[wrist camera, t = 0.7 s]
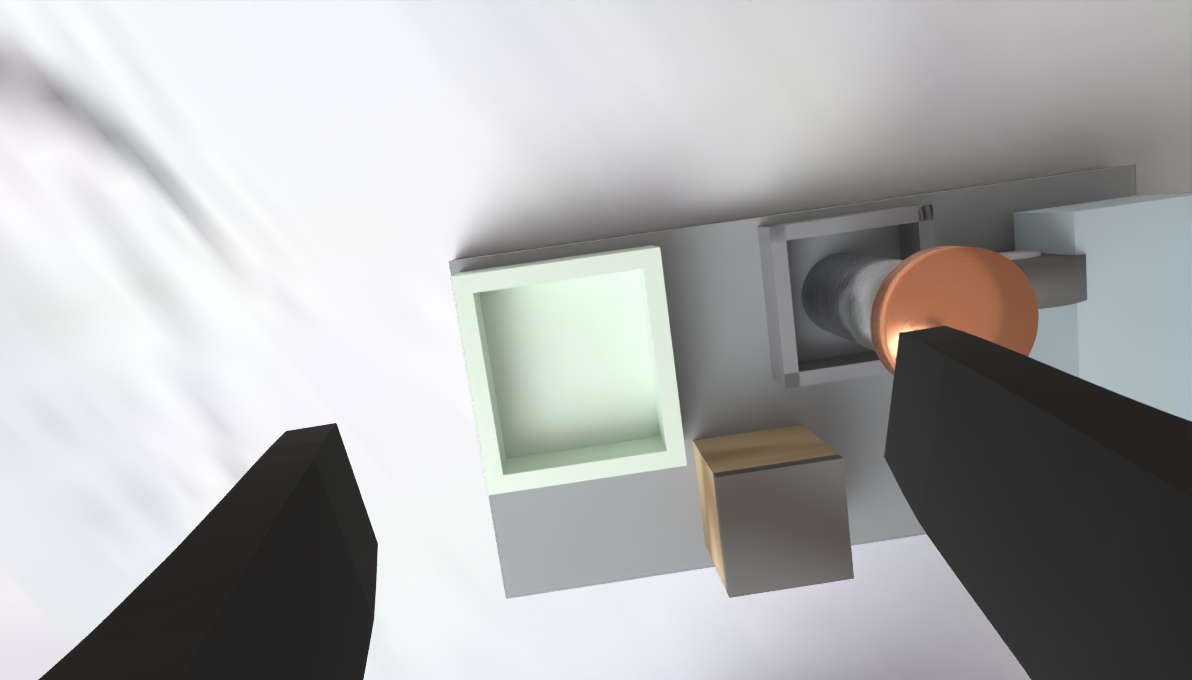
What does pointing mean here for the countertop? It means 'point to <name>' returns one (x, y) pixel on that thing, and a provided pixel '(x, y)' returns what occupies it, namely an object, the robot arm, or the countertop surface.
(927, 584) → the countertop surface
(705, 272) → the ramp board
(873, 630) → the countertop surface
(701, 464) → the wooden cube
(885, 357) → the pin
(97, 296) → the countertop surface
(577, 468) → the tray
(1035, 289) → the trolley
